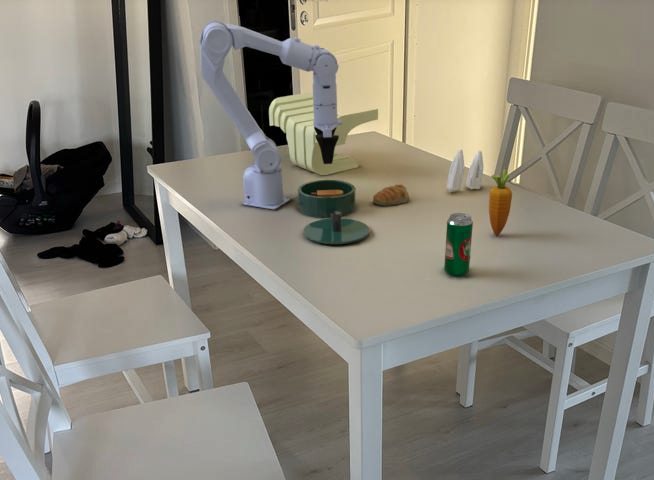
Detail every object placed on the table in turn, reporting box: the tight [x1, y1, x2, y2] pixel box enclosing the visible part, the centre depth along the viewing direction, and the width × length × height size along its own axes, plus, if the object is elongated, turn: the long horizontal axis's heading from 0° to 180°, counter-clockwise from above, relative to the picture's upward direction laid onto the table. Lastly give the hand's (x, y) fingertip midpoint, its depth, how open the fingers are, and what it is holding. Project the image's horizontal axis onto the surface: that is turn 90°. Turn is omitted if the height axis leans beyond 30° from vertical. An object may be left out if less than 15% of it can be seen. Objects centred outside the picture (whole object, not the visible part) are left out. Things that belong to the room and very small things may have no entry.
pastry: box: [372, 184, 410, 207], centre depth 189 cm, size 9×7×4 cm
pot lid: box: [302, 211, 370, 245], centre depth 170 cm, size 15×15×5 cm
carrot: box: [488, 169, 513, 237], centre depth 165 cm, size 5×5×15 cm
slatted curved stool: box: [268, 91, 379, 176], centre depth 212 cm, size 30×16×18 cm, turn 39°
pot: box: [297, 179, 357, 219], centre depth 185 cm, size 14×14×5 cm
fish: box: [311, 190, 343, 197], centre depth 185 cm, size 8×4×4 cm, turn 95°
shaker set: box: [446, 149, 484, 193], centre depth 194 cm, size 12×4×11 cm, turn 122°
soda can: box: [443, 212, 474, 277], centre depth 149 cm, size 5×5×12 cm
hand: (327, 159), depth 187 cm, fingers open, 7 cm apart
